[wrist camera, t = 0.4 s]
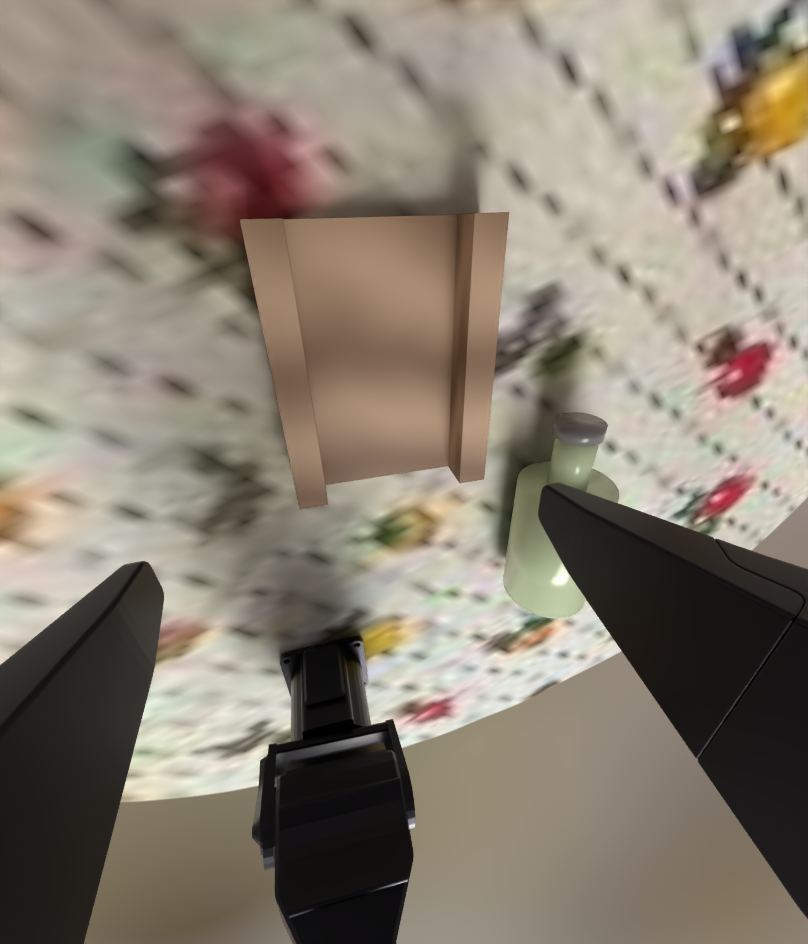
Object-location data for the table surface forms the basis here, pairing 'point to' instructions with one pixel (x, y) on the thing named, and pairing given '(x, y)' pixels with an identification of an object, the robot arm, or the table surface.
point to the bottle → (529, 549)
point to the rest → (380, 341)
